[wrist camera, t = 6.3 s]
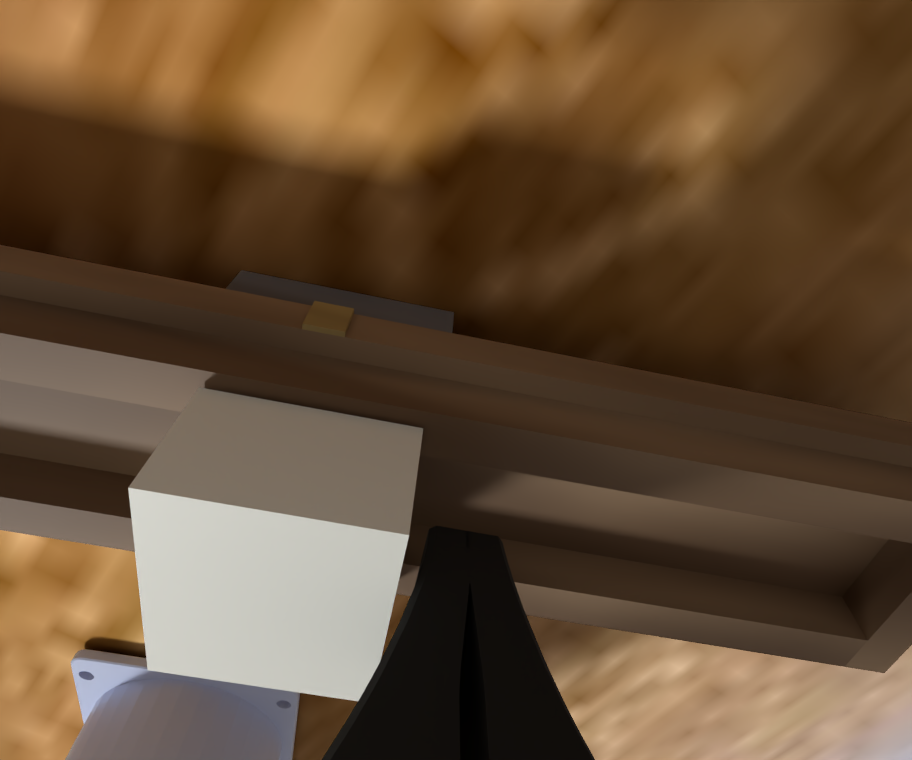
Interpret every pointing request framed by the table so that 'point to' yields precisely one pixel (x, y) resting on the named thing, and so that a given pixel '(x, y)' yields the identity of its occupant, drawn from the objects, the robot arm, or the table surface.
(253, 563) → the block
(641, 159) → the table surface
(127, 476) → the beam
